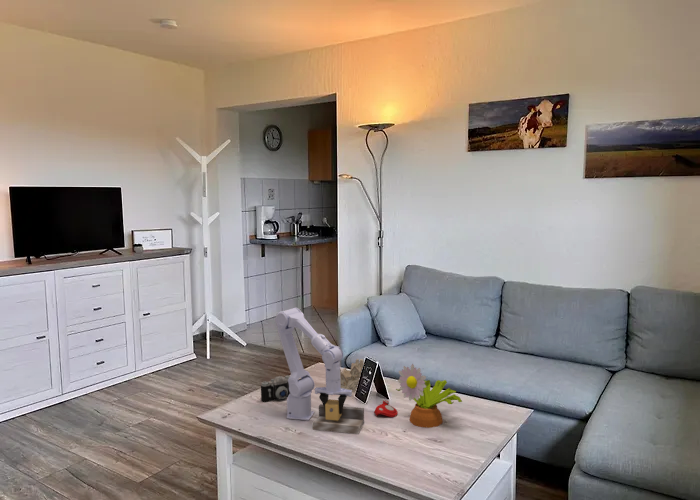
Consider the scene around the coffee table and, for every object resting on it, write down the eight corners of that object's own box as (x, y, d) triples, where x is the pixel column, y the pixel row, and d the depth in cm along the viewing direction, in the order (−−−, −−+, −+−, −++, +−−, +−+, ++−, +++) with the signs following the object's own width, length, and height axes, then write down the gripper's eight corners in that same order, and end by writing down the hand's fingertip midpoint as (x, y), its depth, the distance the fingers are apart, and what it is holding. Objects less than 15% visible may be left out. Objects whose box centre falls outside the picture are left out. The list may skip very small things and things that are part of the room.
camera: (265, 405, 222) (265, 383, 221) (259, 400, 228) (259, 378, 227) (296, 398, 230) (296, 376, 229) (290, 393, 236) (289, 372, 235)
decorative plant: (384, 420, 206) (383, 359, 203) (419, 402, 223) (419, 345, 220) (442, 441, 187) (442, 374, 185) (475, 419, 205) (476, 358, 202)
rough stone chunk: (372, 381, 248) (369, 351, 246) (359, 395, 233) (356, 363, 231) (342, 379, 254) (340, 350, 253) (328, 392, 239) (325, 361, 238)
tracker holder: (403, 413, 210) (383, 412, 205) (399, 422, 211) (379, 422, 206) (388, 396, 220) (369, 395, 215) (385, 405, 221) (365, 405, 216)
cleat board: (312, 429, 198) (312, 414, 198) (320, 418, 208) (320, 404, 207) (358, 434, 194) (358, 418, 193) (364, 422, 204) (363, 408, 203)
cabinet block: (325, 420, 198) (324, 405, 198) (329, 413, 204) (328, 399, 203) (337, 421, 197) (337, 406, 196) (341, 414, 203) (341, 400, 202)
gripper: (312, 380, 198) (312, 414, 199) (348, 383, 194) (349, 418, 195) (317, 374, 204) (318, 407, 206) (353, 377, 201) (353, 410, 202)
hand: (333, 412), depth 201 cm, fingers closed on cabinet block, 5 cm apart
